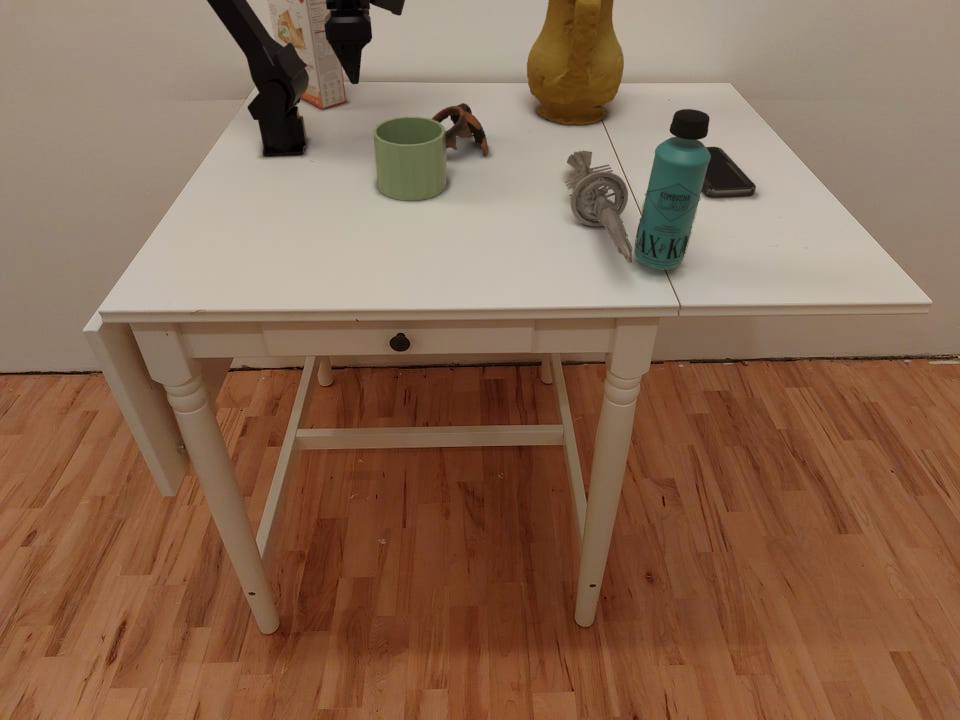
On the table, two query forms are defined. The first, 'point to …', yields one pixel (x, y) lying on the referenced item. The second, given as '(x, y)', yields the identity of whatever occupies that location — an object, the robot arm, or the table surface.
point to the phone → (725, 177)
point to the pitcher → (575, 62)
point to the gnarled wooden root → (462, 126)
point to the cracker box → (310, 47)
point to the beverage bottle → (673, 192)
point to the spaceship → (599, 199)
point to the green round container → (410, 157)
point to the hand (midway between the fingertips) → (354, 73)
